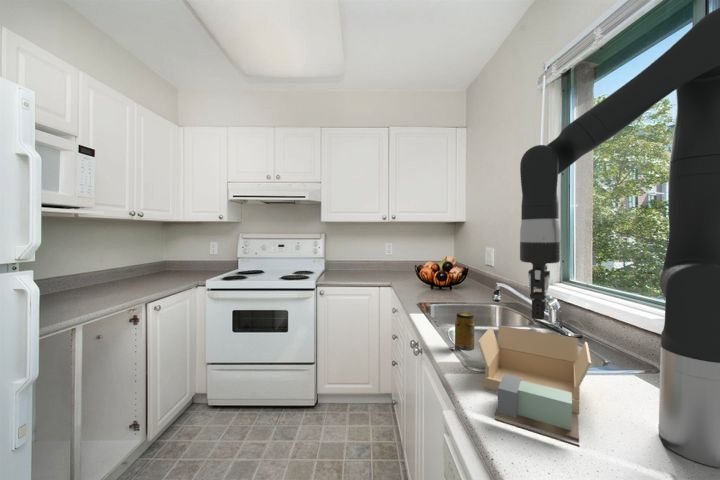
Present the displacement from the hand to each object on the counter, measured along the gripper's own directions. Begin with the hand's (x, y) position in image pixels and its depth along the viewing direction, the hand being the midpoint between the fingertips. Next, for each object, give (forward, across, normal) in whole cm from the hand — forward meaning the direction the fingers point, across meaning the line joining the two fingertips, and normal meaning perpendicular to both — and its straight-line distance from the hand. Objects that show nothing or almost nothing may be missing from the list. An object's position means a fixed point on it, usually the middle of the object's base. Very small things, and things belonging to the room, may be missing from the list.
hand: (539, 314), depth 67 cm
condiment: (+20, +25, +22) cm, 39 cm away
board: (+20, -6, 0) cm, 21 cm away
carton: (+20, +9, +2) cm, 22 cm away
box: (+19, -6, +1) cm, 20 cm away
